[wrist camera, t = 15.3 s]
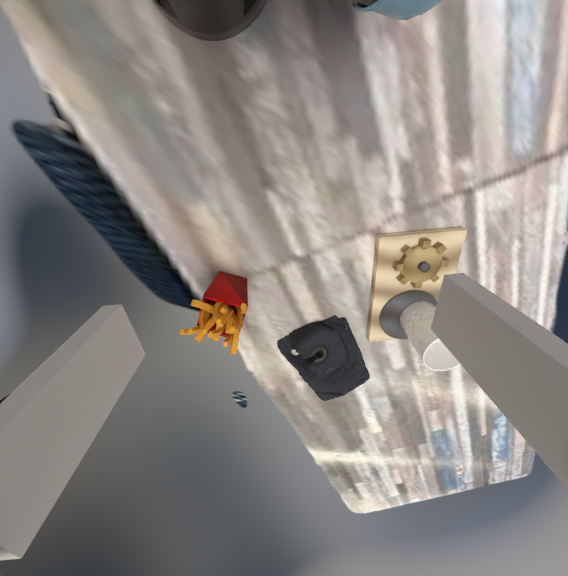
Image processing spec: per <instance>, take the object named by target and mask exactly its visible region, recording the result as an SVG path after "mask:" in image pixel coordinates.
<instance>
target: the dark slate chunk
mask: <svg viewBox="0 0 568 576" xmlns="http://www.w3.org/2000/svg"><path fill="white" fill-rule="evenodd" d="M357 345H358V344H357V343H356V340H355V338H354V336H353V334H352V332H351V329H350V327H349V324H348V322H347V320H346V318H341V319H340V318H338V317H337V316H336V315H334V316H332V317H330V318H327V319H325V320H323V321H320V322H313V323H310V324H307V325H305V326H303V327H301V328H298V329H296V330H294V331H293V333H291V334H289V335H288V336H285V338H284V339H281V340H280V341H278V348H279V349H280V352H281V353H282V354H283V355H284V356H285V358H286V359H287V360H288V361H289V362H290V363H291V364H292V365H293V366H294V367H295V368H296V369H297V370H298V371H299V375H301V376H302V378H303V379H304V381H305V382H307V383H308V384H309V386H310V387H311V388H312V389H313V390H314V391H315V393H316V394H317V396H318V397H320V399H321V400H324V401H326V400H329V399H333V398H337V397H340V396H343V395H345V394H347V393H348V392H350V391H352V390H353V389H355V388H356V387H358V386H359V385H361V384H363V383H365V381H367V380H368V379H369V378H370V375H369V373H368V369H367V368H366V366H365V363H364V360H363V357H362V354H361V351H360V349H359V347H358V346H357ZM294 349H295V350H296V352H297V353H300V354H299V355H297V356H295V355H293V354H292V353H291V350H294Z"/></svg>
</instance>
